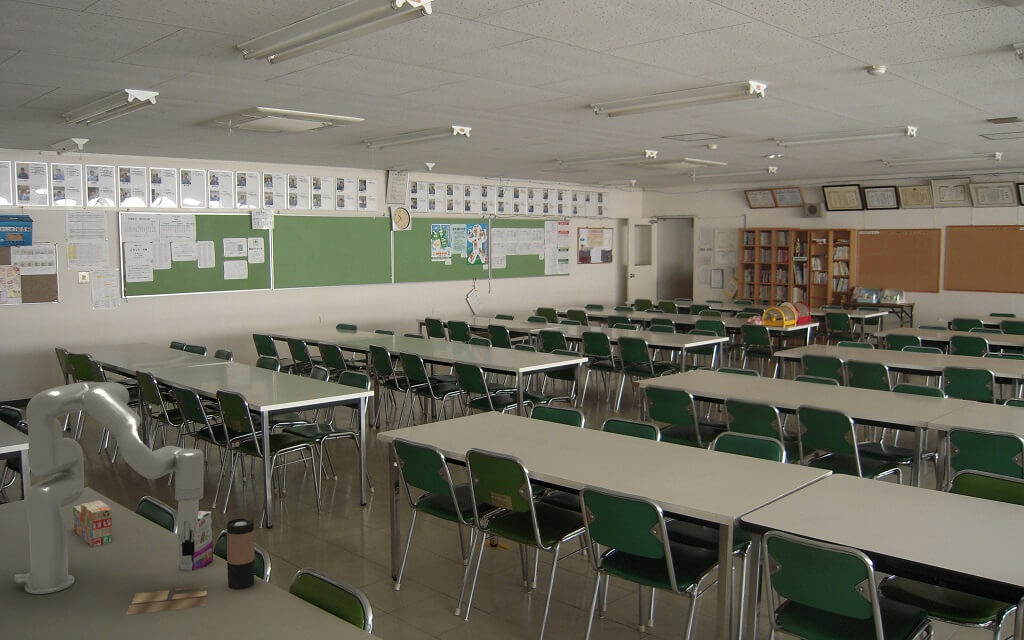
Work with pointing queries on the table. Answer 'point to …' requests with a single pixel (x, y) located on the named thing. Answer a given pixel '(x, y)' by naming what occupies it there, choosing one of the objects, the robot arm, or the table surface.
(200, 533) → the candy bar box
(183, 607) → the laid board
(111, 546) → the table surface
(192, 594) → the plank
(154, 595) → the plank
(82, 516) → the stack of blocks
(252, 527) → the travel mug
